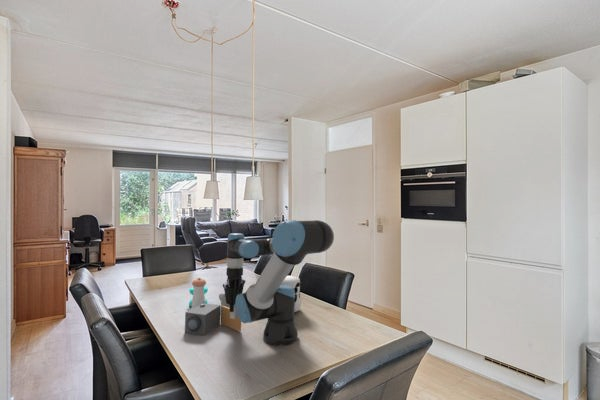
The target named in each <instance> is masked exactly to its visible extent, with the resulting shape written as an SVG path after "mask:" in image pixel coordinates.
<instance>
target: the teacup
mask: <svg viewBox="0 0 600 400" xmlns="http://www.w3.org/2000/svg"><path fill="white" fill-rule="evenodd" d="M218 298H219V300H220V305H221V306H222V305H223V306H226V307H228V308H230V304H227V303H226V298H225V293H220V294H218Z"/></svg>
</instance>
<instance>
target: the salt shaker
mask: <svg viewBox="0 0 600 400" xmlns="http://www.w3.org/2000/svg"><path fill="white" fill-rule="evenodd" d="M191 284H192V286H193V295H192V297H191V298H192V299H191V300H192V307H191V308H190V310H191V309H192V308H194V307H196V306H198V305H200V304H202V303H205V299H206V298H205V294H204V287H206V284H207V281H206V280H205V279H203V278H201V277H198V278H195V279H194V280H192V281H191Z"/></svg>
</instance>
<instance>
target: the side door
mask: <svg viewBox="0 0 600 400" xmlns="http://www.w3.org/2000/svg"><path fill="white" fill-rule="evenodd" d="M220 325H224V326H226V327H229V328H231V329H232V330H235V331H237V332H241V331H242V322H241V321H240V319H239V318H238V315H237V312H236V319H231V318H230V308H228V307H226V306H223V305H222V306H221V310H220Z"/></svg>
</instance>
